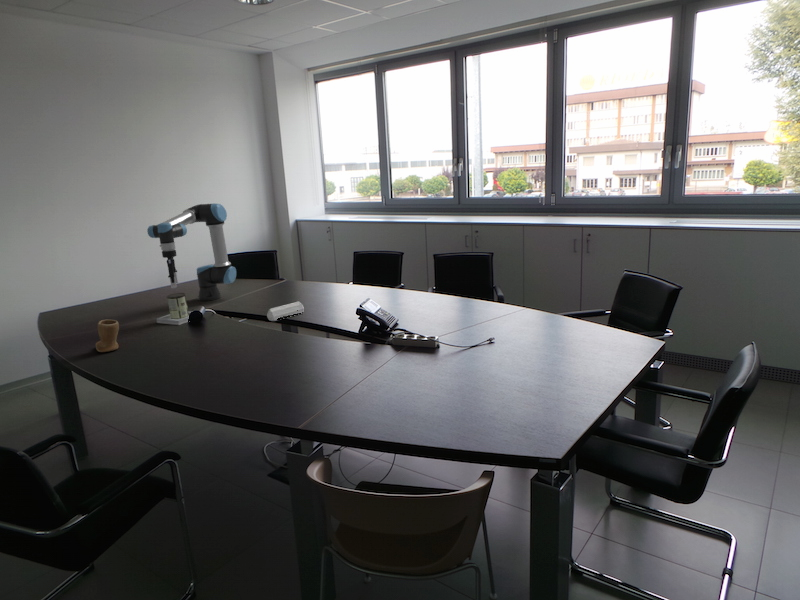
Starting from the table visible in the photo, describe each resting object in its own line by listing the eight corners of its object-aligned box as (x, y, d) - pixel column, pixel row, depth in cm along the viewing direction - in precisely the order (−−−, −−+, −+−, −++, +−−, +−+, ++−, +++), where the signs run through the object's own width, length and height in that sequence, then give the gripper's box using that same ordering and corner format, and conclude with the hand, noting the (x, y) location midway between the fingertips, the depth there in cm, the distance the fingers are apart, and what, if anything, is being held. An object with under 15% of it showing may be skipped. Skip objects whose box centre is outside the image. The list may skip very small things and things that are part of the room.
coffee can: (176, 315, 320) (172, 293, 316) (192, 315, 319) (188, 292, 315) (167, 320, 310) (163, 297, 306) (183, 319, 309) (179, 296, 305)
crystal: (272, 316, 294) (307, 307, 310) (266, 308, 297) (301, 299, 314) (270, 326, 298) (305, 316, 314) (263, 318, 302) (298, 309, 318)
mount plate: (181, 314, 326) (180, 310, 325) (202, 316, 318) (202, 312, 317) (157, 322, 310) (156, 318, 309) (179, 325, 302) (178, 320, 302)
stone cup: (124, 350, 263) (118, 321, 259) (97, 355, 257) (91, 326, 253) (121, 342, 276) (116, 315, 272) (96, 347, 270) (90, 319, 266)
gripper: (163, 247, 314) (169, 282, 319) (159, 253, 291) (166, 290, 296) (176, 246, 316) (182, 280, 322) (174, 252, 293) (180, 289, 299)
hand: (174, 285), depth 309 cm, fingers open, 13 cm apart
